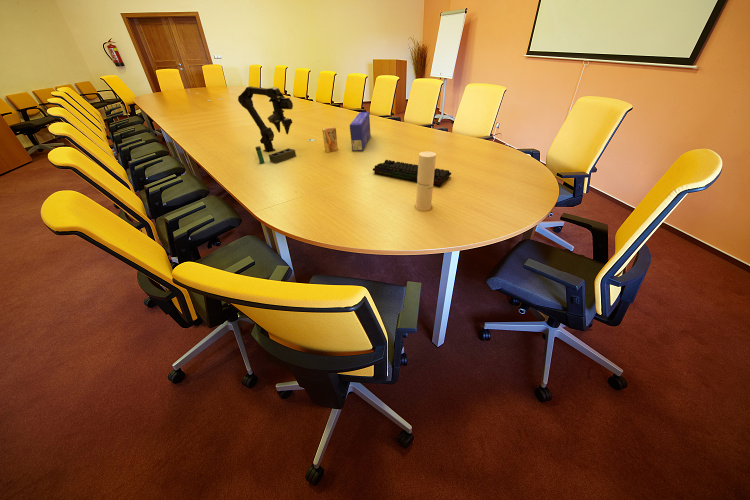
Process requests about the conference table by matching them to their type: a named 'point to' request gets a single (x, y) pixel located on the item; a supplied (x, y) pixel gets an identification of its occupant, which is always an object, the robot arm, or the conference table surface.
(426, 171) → the cylindrical container
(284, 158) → the organiser
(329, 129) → the candy box
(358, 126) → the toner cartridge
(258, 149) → the capped tube
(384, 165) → the keyboard
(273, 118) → the robot arm
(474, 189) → the conference table surface
